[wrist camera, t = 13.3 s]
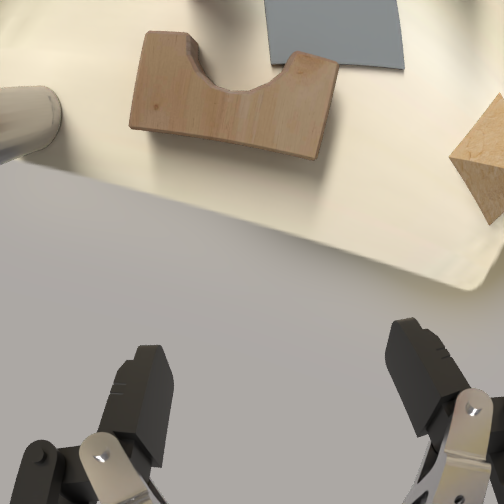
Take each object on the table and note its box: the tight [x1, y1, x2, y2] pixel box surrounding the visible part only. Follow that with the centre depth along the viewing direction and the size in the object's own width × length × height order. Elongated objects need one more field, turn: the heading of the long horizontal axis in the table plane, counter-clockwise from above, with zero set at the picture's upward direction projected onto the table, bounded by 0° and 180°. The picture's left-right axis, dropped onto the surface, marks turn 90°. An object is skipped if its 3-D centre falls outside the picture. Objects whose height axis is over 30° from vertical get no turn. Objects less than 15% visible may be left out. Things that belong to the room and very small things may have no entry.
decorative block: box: [129, 31, 339, 161], centre depth 30 cm, size 11×6×20 cm
